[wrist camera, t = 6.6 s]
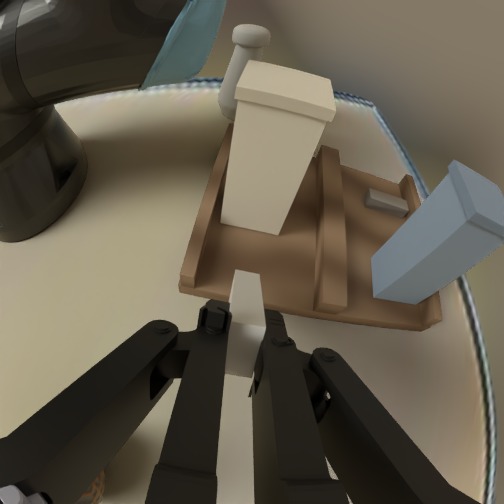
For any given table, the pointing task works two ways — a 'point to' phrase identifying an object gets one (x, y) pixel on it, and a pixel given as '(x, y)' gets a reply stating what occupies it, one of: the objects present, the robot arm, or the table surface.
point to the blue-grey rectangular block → (441, 238)
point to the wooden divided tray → (310, 246)
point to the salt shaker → (241, 63)
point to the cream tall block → (272, 142)
